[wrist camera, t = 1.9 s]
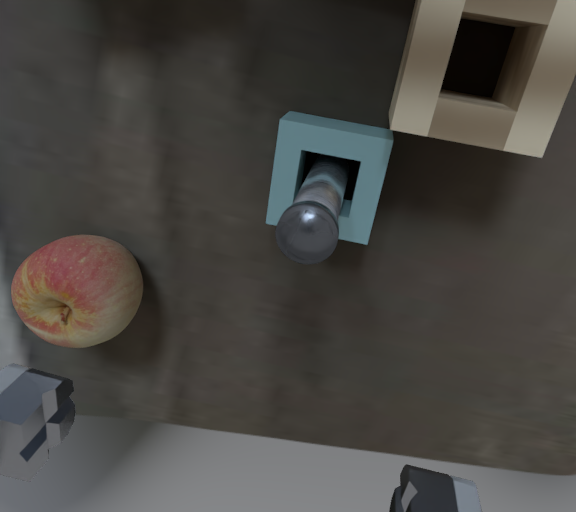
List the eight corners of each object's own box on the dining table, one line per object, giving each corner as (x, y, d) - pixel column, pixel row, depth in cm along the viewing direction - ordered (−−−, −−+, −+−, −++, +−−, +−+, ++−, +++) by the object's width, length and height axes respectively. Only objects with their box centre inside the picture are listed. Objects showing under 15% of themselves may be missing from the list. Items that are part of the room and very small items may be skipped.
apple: (43, 245, 40) (-29, 290, 33) (117, 201, 37) (53, 240, 30) (105, 323, 42) (49, 381, 35) (178, 288, 39) (134, 343, 32)
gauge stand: (289, 110, 31) (279, 119, 28) (392, 129, 31) (393, 140, 28) (276, 206, 34) (265, 223, 31) (368, 225, 34) (367, 244, 31)
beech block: (422, -29, 27) (432, -45, 21) (565, -7, 26) (612, -18, 21) (388, 113, 30) (390, 129, 25) (512, 135, 29) (542, 157, 24)
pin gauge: (313, 145, 32) (280, 200, 21) (356, 153, 32) (343, 213, 21) (306, 186, 33) (271, 257, 23) (347, 194, 33) (331, 269, 22)
